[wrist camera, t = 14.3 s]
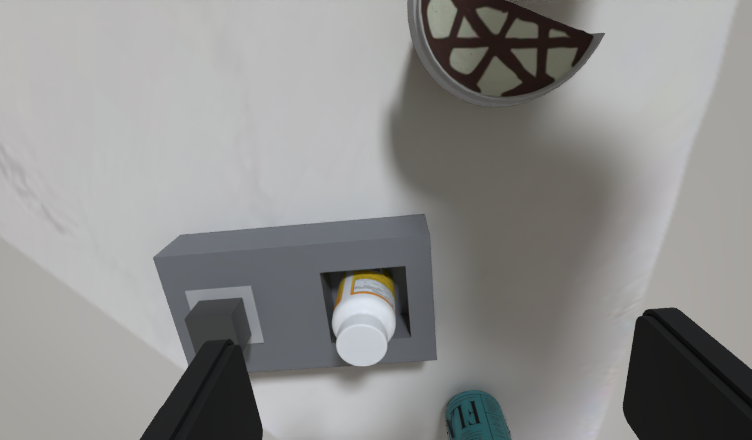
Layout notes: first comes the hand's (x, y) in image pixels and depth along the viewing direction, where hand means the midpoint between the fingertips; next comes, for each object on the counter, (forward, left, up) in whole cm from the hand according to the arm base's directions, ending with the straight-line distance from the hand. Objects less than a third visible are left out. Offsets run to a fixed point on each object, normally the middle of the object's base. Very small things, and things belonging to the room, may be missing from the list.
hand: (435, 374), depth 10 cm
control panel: (+10, +13, -28) cm, 33 cm away
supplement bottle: (+4, +13, -28) cm, 31 cm away
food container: (-6, -7, -28) cm, 30 cm away
